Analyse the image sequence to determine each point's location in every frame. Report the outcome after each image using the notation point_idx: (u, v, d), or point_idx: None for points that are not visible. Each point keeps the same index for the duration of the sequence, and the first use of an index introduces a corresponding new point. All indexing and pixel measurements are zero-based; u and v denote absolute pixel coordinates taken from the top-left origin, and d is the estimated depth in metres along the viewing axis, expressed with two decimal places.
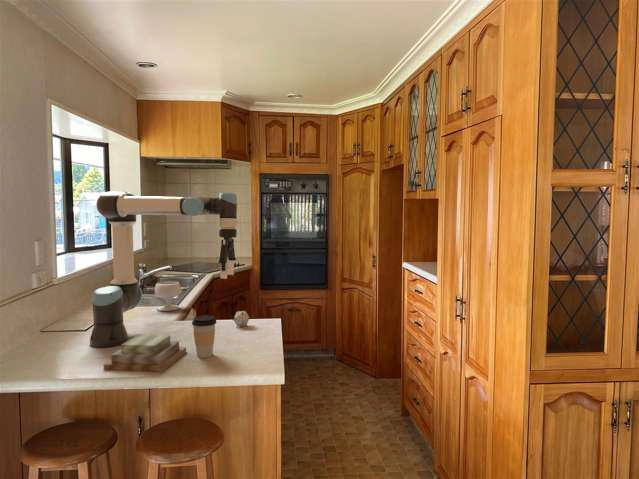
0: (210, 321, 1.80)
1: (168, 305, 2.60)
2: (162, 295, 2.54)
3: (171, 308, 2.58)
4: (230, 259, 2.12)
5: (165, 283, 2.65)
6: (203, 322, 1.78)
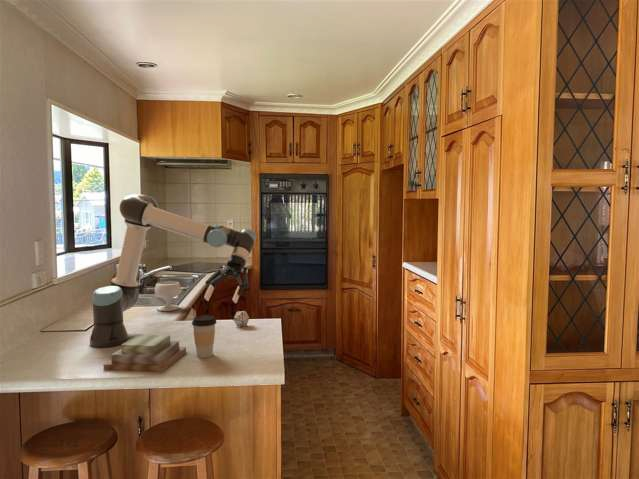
0: (210, 321, 1.80)
1: (168, 305, 2.60)
2: (162, 295, 2.54)
3: (171, 308, 2.58)
4: (211, 285, 1.98)
5: (165, 283, 2.65)
6: (203, 322, 1.78)
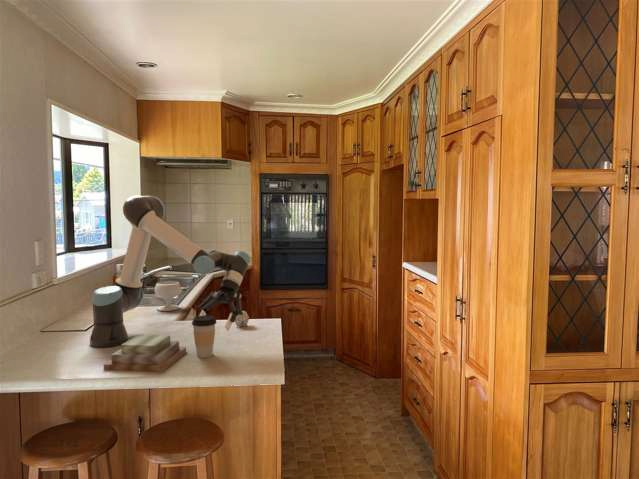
0: (210, 321, 1.80)
1: (168, 305, 2.60)
2: (162, 295, 2.54)
3: (171, 308, 2.58)
4: None
5: (165, 283, 2.65)
6: (203, 322, 1.78)
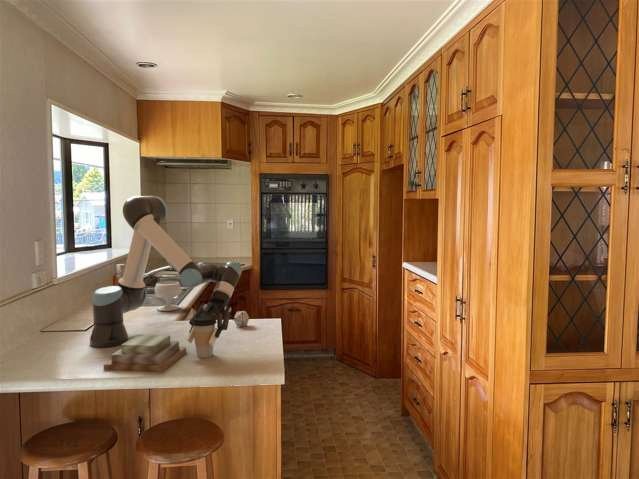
0: (210, 321, 1.80)
1: (168, 305, 2.60)
2: (162, 295, 2.54)
3: (171, 308, 2.58)
4: None
5: (165, 283, 2.65)
6: (203, 322, 1.78)
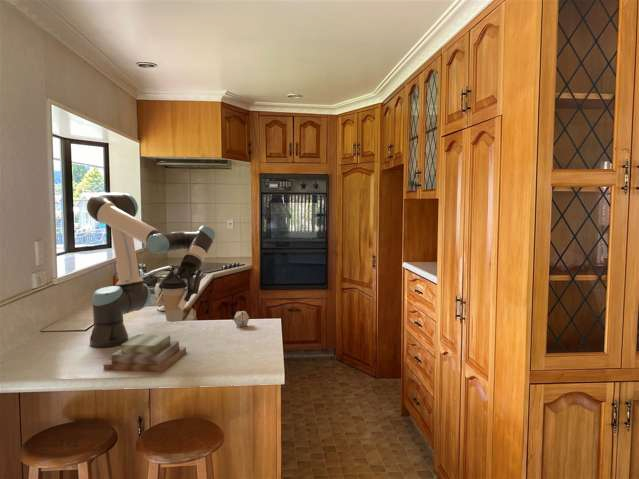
0: (180, 284, 1.74)
1: None
2: None
3: None
4: None
5: None
6: (172, 285, 1.73)
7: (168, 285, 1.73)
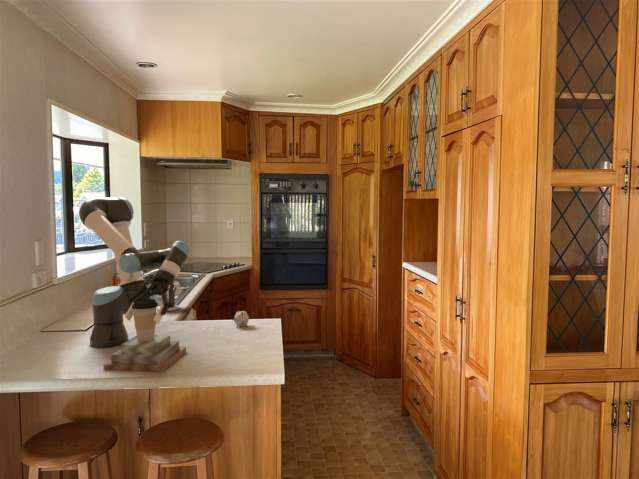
0: (150, 304, 1.73)
1: None
2: None
3: (171, 308, 2.58)
4: None
5: None
6: (142, 305, 1.72)
7: (138, 305, 1.72)
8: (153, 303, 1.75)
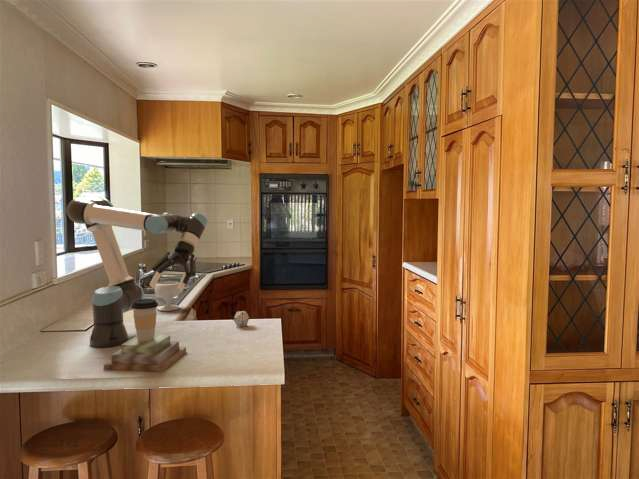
0: (150, 304, 1.73)
1: (168, 305, 2.60)
2: (162, 295, 2.54)
3: (171, 308, 2.58)
4: (158, 271, 1.93)
5: (165, 283, 2.65)
6: (142, 305, 1.72)
7: (138, 305, 1.72)
8: (153, 303, 1.75)
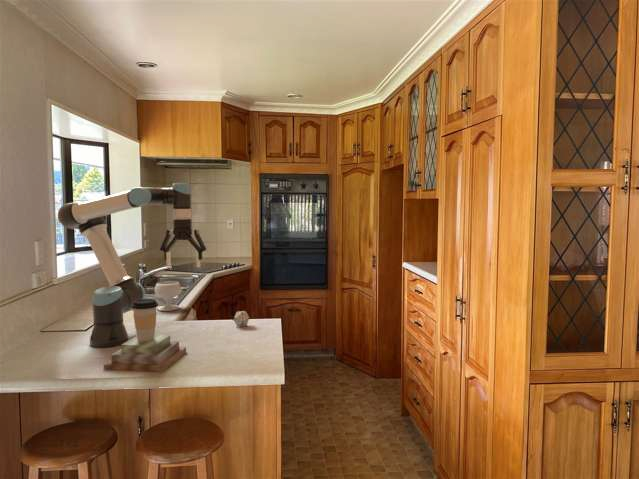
0: (150, 304, 1.73)
1: (168, 305, 2.60)
2: (162, 295, 2.54)
3: (171, 308, 2.58)
4: (167, 251, 2.04)
5: (165, 283, 2.65)
6: (142, 305, 1.72)
7: (138, 305, 1.72)
8: (153, 303, 1.75)
